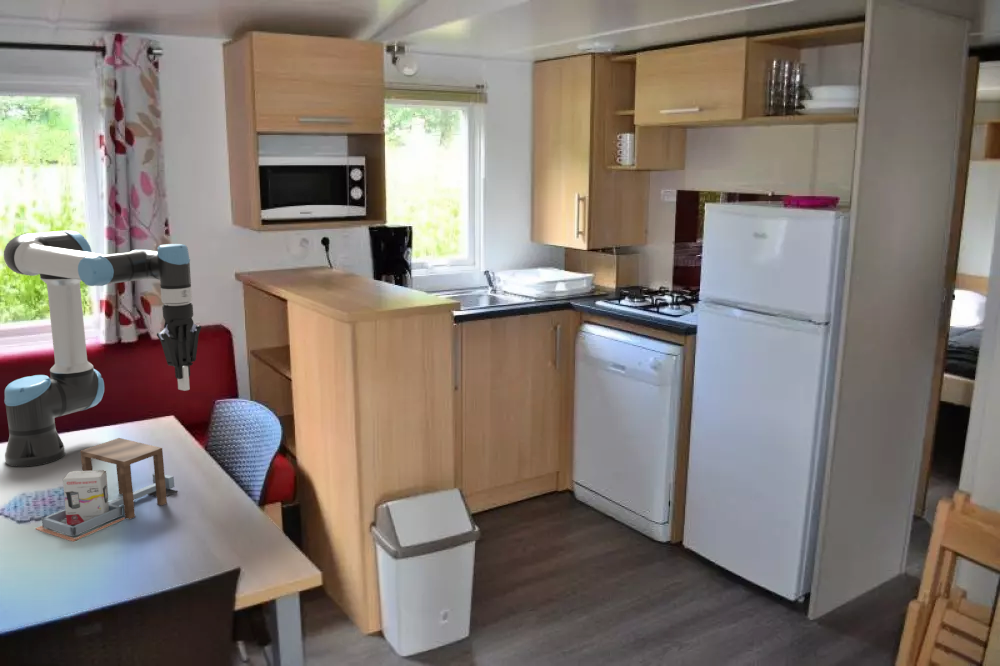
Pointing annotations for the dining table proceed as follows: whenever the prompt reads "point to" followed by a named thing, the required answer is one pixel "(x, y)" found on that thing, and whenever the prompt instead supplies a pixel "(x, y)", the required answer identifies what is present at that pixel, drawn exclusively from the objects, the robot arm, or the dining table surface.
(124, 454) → the tunnel frame
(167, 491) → the pad
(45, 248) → the robot arm
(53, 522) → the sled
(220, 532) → the dining table surface
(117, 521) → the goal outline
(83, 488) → the ink box
